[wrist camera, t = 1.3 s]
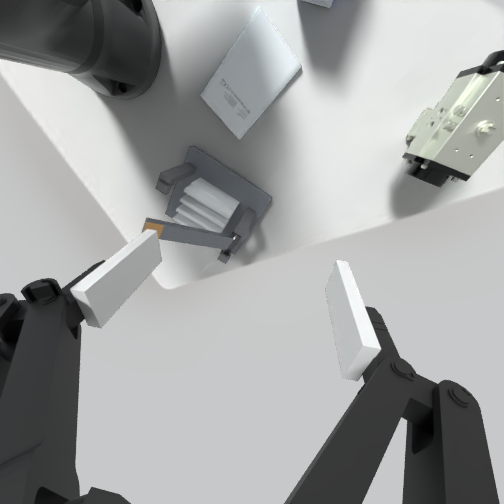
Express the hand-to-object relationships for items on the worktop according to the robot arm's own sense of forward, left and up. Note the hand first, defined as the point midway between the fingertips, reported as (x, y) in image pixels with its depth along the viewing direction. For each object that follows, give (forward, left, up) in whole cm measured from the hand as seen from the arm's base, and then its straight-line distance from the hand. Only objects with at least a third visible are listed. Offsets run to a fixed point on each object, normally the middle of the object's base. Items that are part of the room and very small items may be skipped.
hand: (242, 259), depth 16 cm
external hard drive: (-10, +10, -26) cm, 30 cm away
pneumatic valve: (+14, +18, -25) cm, 34 cm away
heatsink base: (-6, -9, -25) cm, 28 cm away
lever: (-6, -9, -13) cm, 17 cm away
